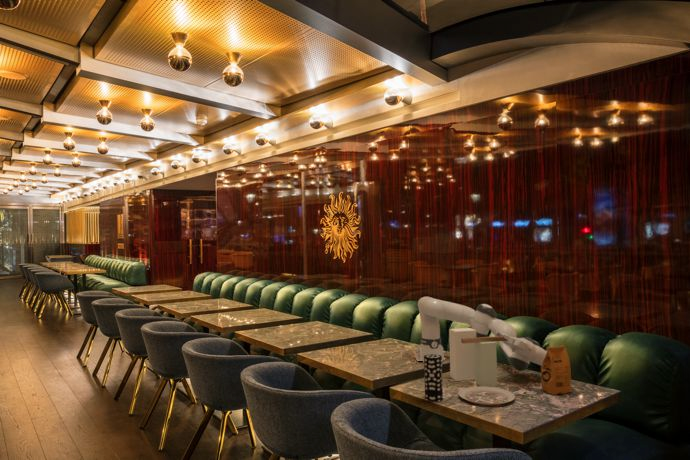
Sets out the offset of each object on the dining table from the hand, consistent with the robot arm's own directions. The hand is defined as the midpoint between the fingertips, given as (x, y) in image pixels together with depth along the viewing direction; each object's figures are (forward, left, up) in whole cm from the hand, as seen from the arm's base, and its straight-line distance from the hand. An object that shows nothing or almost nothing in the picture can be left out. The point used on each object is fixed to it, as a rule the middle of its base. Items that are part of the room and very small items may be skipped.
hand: (500, 334), depth 255 cm
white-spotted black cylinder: (+15, -43, -25) cm, 52 cm away
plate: (+20, -19, -25) cm, 37 cm away
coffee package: (+19, +18, -25) cm, 36 cm away
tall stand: (-14, -15, -25) cm, 32 cm away
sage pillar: (0, -9, -25) cm, 26 cm away
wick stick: (0, -9, -3) cm, 9 cm away
